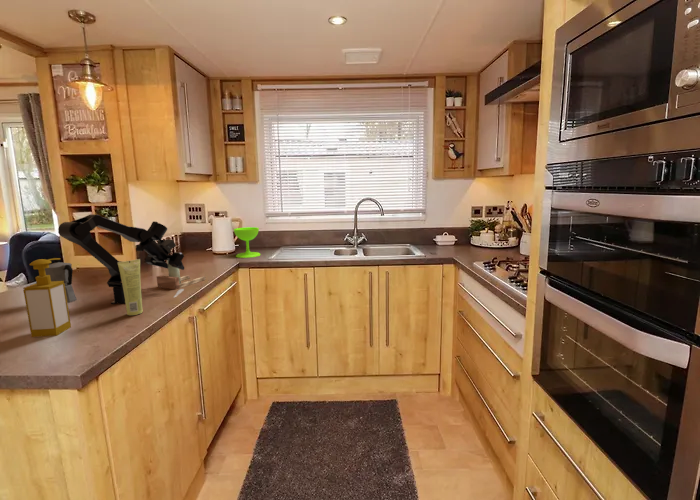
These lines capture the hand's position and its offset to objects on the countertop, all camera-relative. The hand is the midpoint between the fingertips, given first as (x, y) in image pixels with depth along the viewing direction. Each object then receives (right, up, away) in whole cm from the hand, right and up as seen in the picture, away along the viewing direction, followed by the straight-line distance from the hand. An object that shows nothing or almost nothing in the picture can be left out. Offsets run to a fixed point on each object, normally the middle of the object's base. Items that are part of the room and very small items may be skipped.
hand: (176, 268), depth 174 cm
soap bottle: (-14, -17, -52) cm, 57 cm away
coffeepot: (-35, -13, -22) cm, 43 cm away
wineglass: (+13, +5, +74) cm, 75 cm away
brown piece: (+1, -7, +4) cm, 8 cm away
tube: (+3, -15, -39) cm, 42 cm away
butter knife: (+9, -12, -20) cm, 24 cm away
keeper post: (0, -8, 0) cm, 8 cm away
